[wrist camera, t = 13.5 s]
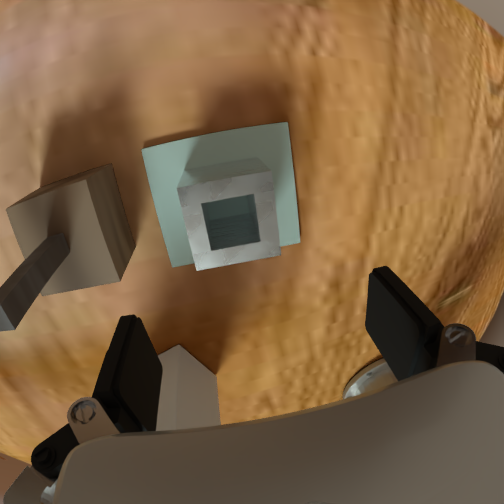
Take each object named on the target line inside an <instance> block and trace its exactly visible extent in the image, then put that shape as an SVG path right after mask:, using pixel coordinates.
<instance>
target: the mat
mask: <svg viewBox="0 0 504 504" xmlns="http://www.w3.org/2000/svg"><path fill="white" fill-rule="evenodd" d="M141 150H142V155H143V159H144V164H145V168H146V172H147V176H148V181H149V185H150V189H151V193H152V197H153V200H154V204H155V208H156V212H157V216H158V219H159V223H160V227H161V230H162V234H163V237H164V241H165V244H166V248H167V251H168V254H169V258H170V261H171V264H172V267H178V266H183V265H188V264H193V263H195V262H194V259H193V255H192V251H191V247H190V243H189V239H188V235H187V231H186V226H185V222H184V218H183V214H182V209H181V205H180V201H179V196H178V192H177V186H178V184H179V181H180V179H181V176H182V174H183V171H184V170H187V169H192V168H197V167H202V166H207V165H212V164H217V163H223V162H229V161H234V160H240V159H247V158H253V157H258V158H259V159H260V160H261V161H262V162H263V163H264V164H265V165H266V166H267V167H268V168H269V169H270V170H271V171H272V178H273V186H274V194H275V203H276V212H277V221H278V230H279V239H280V246H286V245H291V244H296V243H300V233H299V221H298V210H297V200H296V190H295V180H294V171H293V162H292V153H291V145H290V136H289V128H288V122H281V123H273V124H265V125H258V126H251V127H245V128H238V129H232V130H226V131H221V132H215V133H210V134H205V135H200V136H195V137H190V138H185V139H181V140H176V141H172V142H168V143H163V144H159V145H155V146H151V147H147V148H144V149H141ZM207 207H208V212H209V217H210V220H213V219H218V218H223V217H229V216H234V215H240V214H245V213H249V208H248V201H247V195H244V196H239V197H233V198H228V199H222V200H217V201H212V202H207Z"/></svg>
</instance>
